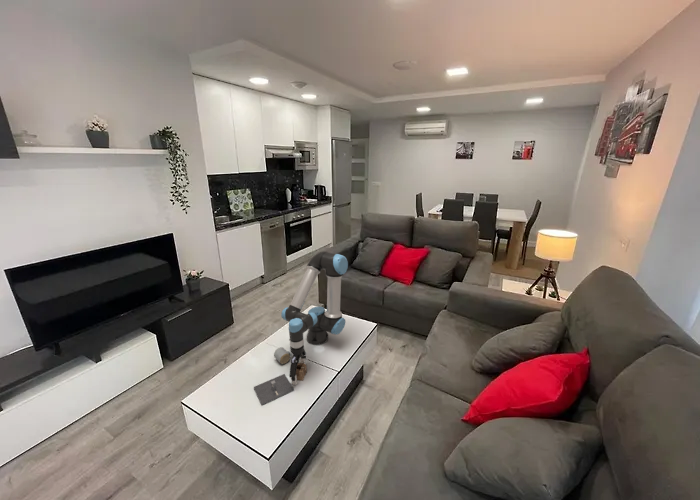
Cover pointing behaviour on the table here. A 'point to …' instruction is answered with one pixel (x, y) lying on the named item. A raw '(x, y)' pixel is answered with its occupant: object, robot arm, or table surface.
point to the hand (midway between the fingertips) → (298, 375)
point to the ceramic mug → (282, 355)
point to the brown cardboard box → (301, 371)
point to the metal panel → (273, 389)
